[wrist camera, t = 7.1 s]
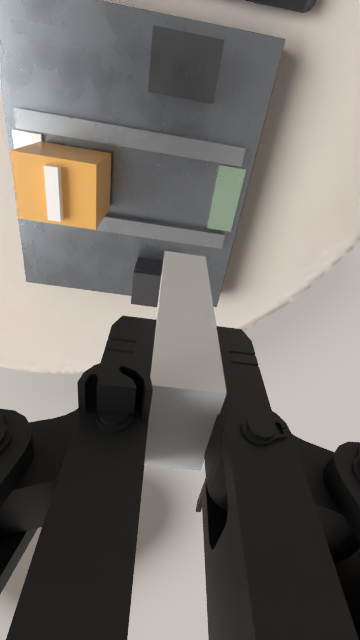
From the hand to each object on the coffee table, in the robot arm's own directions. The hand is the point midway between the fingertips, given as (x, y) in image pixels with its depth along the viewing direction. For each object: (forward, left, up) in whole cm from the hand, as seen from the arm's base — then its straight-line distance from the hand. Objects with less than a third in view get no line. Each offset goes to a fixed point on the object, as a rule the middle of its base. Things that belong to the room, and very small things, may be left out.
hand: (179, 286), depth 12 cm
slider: (0, -8, -15) cm, 17 cm away
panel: (0, -4, -18) cm, 19 cm away
